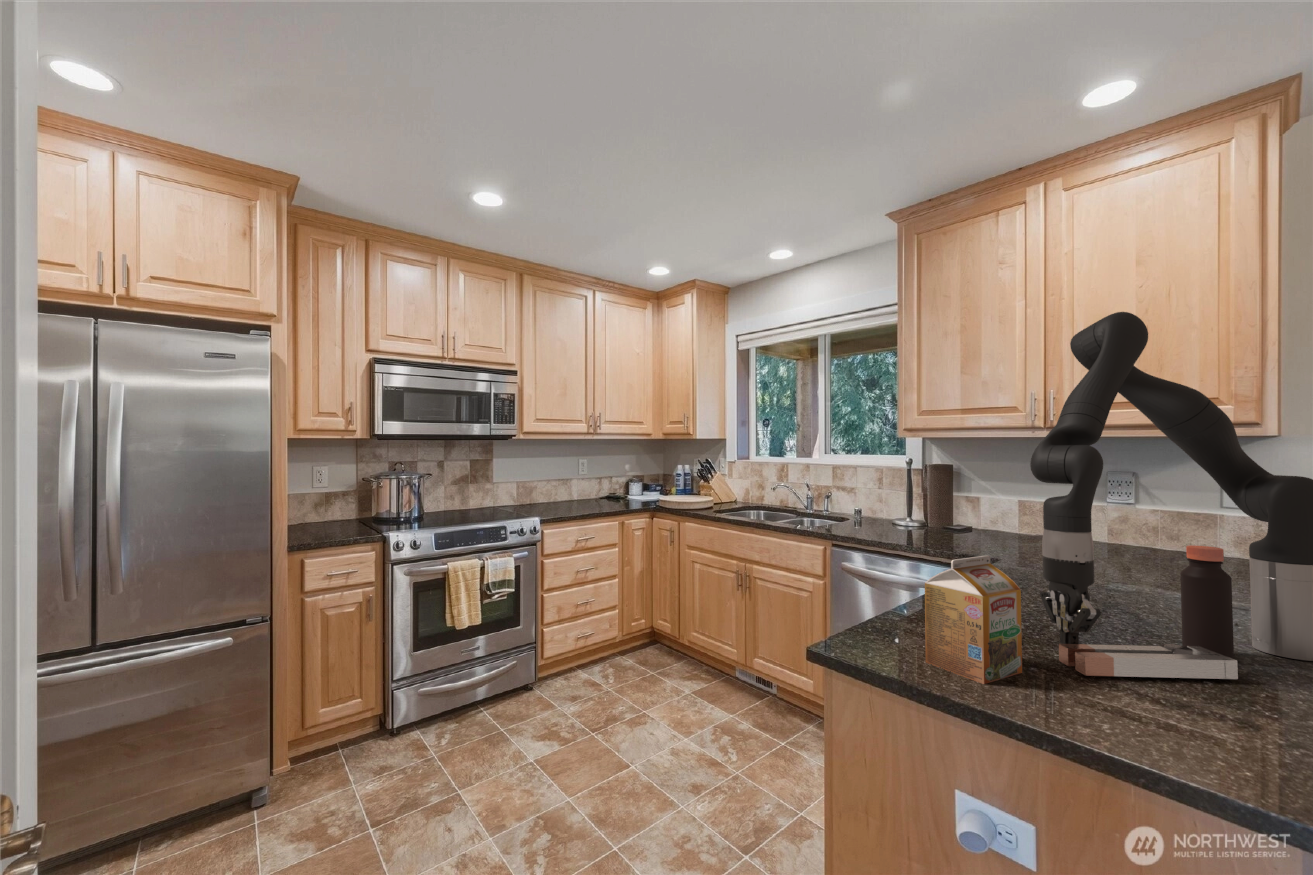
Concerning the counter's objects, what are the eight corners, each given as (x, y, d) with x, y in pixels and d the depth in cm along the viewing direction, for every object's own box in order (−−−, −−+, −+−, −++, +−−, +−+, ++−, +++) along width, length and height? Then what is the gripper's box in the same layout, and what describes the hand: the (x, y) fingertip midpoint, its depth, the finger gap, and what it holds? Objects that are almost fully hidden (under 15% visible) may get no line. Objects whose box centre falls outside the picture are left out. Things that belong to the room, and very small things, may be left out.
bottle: (1219, 652, 104) (1216, 545, 105) (1244, 665, 98) (1240, 551, 98) (1174, 648, 106) (1171, 543, 107) (1195, 660, 100) (1192, 549, 101)
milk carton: (984, 684, 89) (982, 565, 90) (925, 662, 99) (924, 555, 99) (1022, 672, 94) (1020, 560, 95) (963, 653, 104) (961, 550, 104)
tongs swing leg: (1180, 663, 97) (1179, 644, 97) (1199, 671, 94) (1198, 651, 94) (1056, 660, 99) (1056, 641, 99) (1070, 668, 95) (1070, 648, 95)
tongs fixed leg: (1199, 663, 97) (1198, 646, 97) (1237, 679, 90) (1237, 660, 90) (1058, 660, 98) (1057, 643, 98) (1085, 675, 91) (1085, 657, 92)
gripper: (1023, 548, 107) (1025, 639, 106) (1071, 562, 94) (1073, 665, 93) (1064, 549, 107) (1066, 640, 106) (1117, 562, 93) (1119, 666, 93)
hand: (1069, 652), depth 100 cm, fingers closed
